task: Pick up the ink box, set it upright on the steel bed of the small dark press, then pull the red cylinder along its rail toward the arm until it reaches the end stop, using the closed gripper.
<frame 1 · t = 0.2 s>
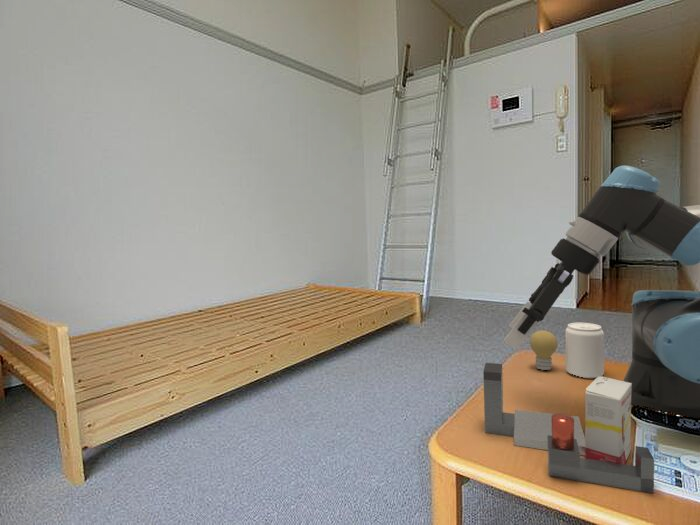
hand: (512, 336, 81), 15 cm above the table, tool tilted 35°, fingers open, 13 cm apart
rail: (597, 478, 60), on the table
ink box: (608, 459, 65), on the table
press: (547, 434, 73), on the table
light bulb: (543, 369, 105), on the table
red cylinder: (562, 438, 62), point 5 cm above the table, slide at 0.0 cm
beverage can: (584, 374, 100), on the table
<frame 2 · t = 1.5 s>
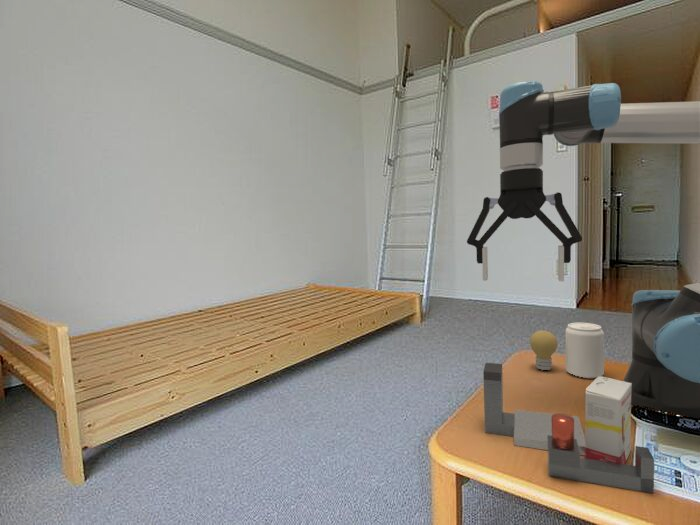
hand: (521, 280, 80), 27 cm above the table, tool pointing down, fingers open, 13 cm apart
nothing on the table moved.
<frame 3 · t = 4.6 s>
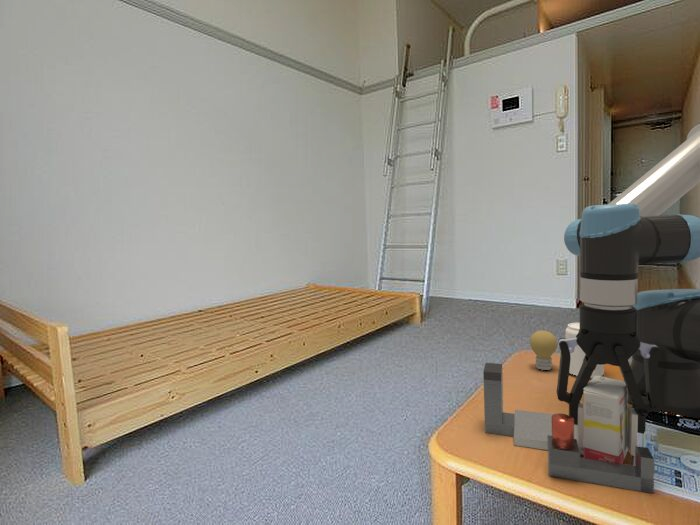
hand: (605, 446, 65), 2 cm above the table, tool pointing down, fingers open, 6 cm apart
ink box: (606, 458, 65), on the table, touching gripper, press
everything else where it was.
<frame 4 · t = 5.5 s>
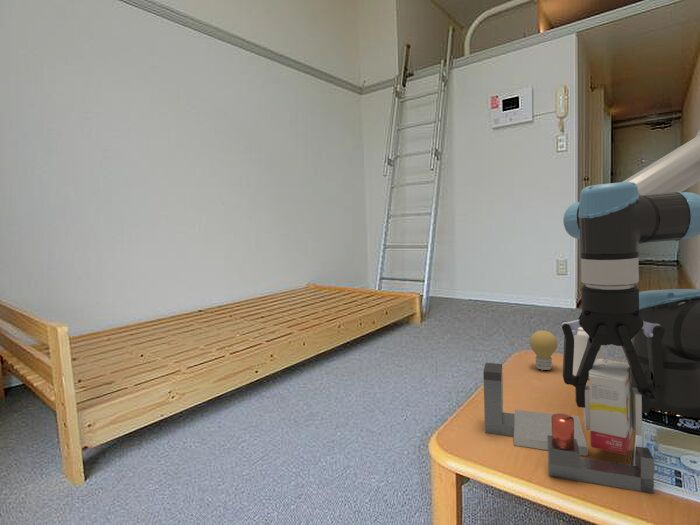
hand: (611, 428, 65), 5 cm above the table, tool pointing down, fingers closed on ink box, 6 cm apart
ink box: (612, 440, 65), point 3 cm above the table, touching gripper
everything else where it was.
when the fingers open (4 cm above the table, at t = 10.2 s): ink box stays where it is, resting on press.
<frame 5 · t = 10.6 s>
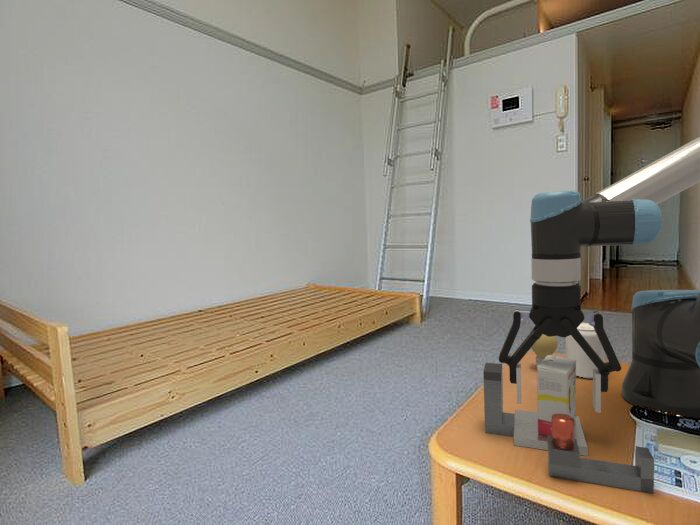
hand: (556, 404, 72), 6 cm above the table, tool pointing down, fingers open, 11 cm apart
ink box: (557, 428, 72), point 1 cm above the table, touching press
everything else where it was.
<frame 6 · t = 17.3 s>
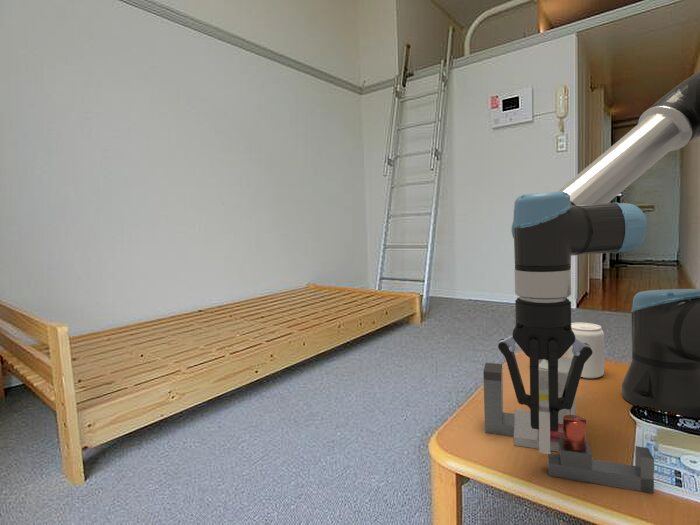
hand: (544, 448, 63), 3 cm above the table, tool pointing down, fingers closed
red cylinder: (574, 440, 61), point 5 cm above the table, slide at 1.6 cm, touching gripper
everything else where it was.
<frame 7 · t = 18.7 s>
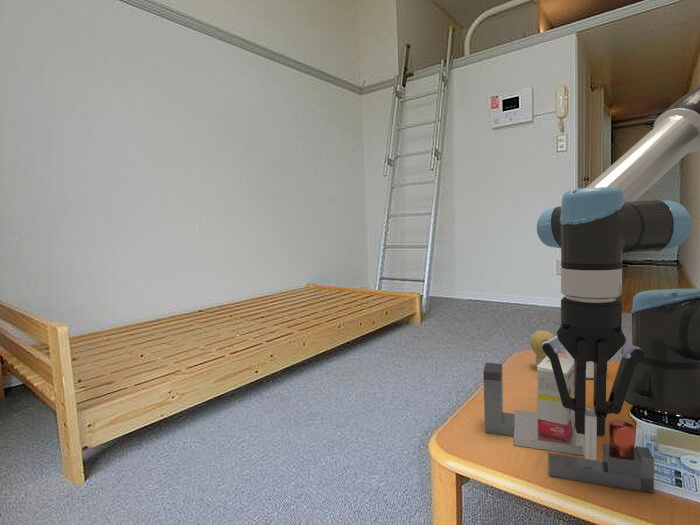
hand: (589, 454, 60), 3 cm above the table, tool pointing down, fingers closed
red cylinder: (621, 446, 59), point 5 cm above the table, slide at 7.5 cm, touching gripper, rail
everything else where it was.
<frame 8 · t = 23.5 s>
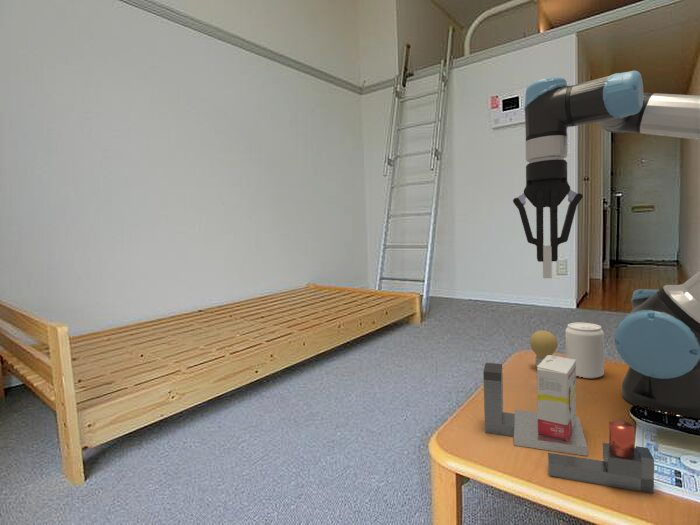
hand: (547, 277, 84), 26 cm above the table, tool pointing down, fingers closed
red cylinder: (621, 446, 59), point 5 cm above the table, slide at 7.5 cm, touching rail
everything else where it was.
at the end: ink box 1.6 cm from the press (horizontally); ink box tilted 0°; red cylinder slide at 7.5 cm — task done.
